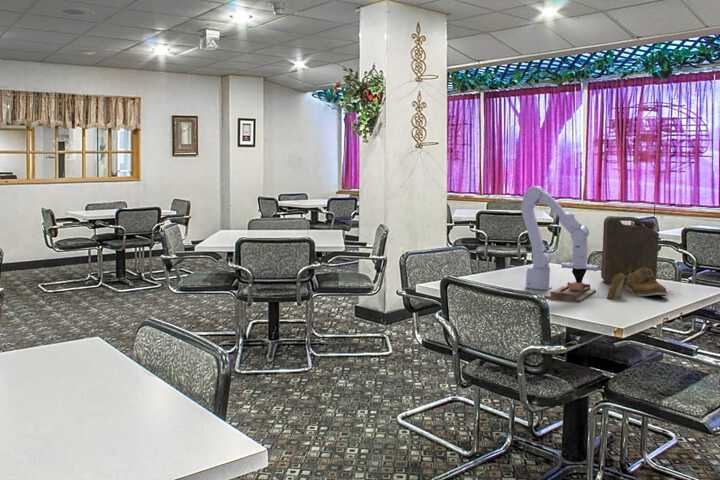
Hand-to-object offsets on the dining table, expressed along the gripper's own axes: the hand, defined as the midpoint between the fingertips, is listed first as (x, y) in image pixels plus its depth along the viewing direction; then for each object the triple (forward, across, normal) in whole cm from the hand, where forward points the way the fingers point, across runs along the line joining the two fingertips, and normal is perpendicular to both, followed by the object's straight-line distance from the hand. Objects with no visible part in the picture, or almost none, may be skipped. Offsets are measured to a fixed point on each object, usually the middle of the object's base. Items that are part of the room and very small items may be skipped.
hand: (578, 285), depth 283 cm
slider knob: (0, 0, -5) cm, 5 cm away
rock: (+1, +15, -8) cm, 17 cm away
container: (+7, +14, +30) cm, 34 cm away
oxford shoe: (+3, +25, +7) cm, 26 cm away
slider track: (0, 0, -14) cm, 14 cm away
